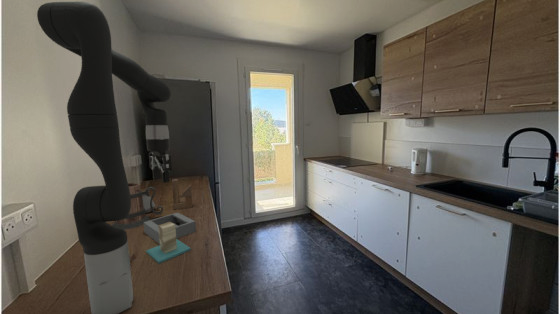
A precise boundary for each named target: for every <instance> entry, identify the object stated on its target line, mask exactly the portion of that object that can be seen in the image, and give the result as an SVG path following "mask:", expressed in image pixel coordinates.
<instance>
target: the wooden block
mask: <svg viewBox="0 0 560 314" xmlns="http://www.w3.org/2000/svg"><path fill="white" fill-rule="evenodd" d="M171 185H172V186H171V188H172V189H171V190H172V202H173V203H172V209H173V210H175V211H176V210H182V209H191V208H193V194H192V184H191V183H190V184H189V185H188V186H187V187H186V188H185V189H184V190H183V191H182V192H181V194H180V186H179V178H177V179H176V178H174V179H172V180H171ZM180 198H185V201H180Z"/></svg>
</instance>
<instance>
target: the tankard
mask: <svg viewBox="0 0 560 314" xmlns="http://www.w3.org/2000/svg"><path fill="white" fill-rule="evenodd" d="M128 186H129V191H130V197H131V208H130V212H129V214H128V216H127V217H126V218H125V219H123V220H118V221H113V224H112V225H111V226H114V227H117V228H121V229H123V230H125V231H126V230H131V229H135V228H138V227H142V226H144V223H143V222H146V221H150V220H151V218H150V217H149V216H148V215H146V213H145V208H144V206H143V199H142V194H143V193H145V194H146V195H147V196H150V197H151V200H150V207H151V210H152V211H151V212H152V214H155V215H161V214H162V213H163V211H164V207H163V206H162V205H158V206H157V207H156V210H157V211H156V210H155V208H154V209H153V207H152V200H153V199H154V197H155V195H156V188H155V187H153V186H148V187H147V189H146V190H145V191H144V192H142V191H141V190H142V189H141V185H140V183H134V182H132V183H128ZM148 190H152V191H153V193H152V195H150V194H149V193H150V191H148Z"/></svg>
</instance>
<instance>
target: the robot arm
mask: <svg viewBox="0 0 560 314" xmlns="http://www.w3.org/2000/svg"><path fill="white" fill-rule="evenodd" d="M36 15H37V16H36V17H37V21H38V24H39V26H40V28H41V30H42V32H44V34H45V35H46V36H47V37H48V38H49V39H50V40H51V41H52V42H54V43H55V44H57V45H58V46H60V47H62V48H64V50H65V49H66V51H67V50H68V51H69V52H72V53H74V54H75V55H78V56H79V57H81V69H80V73H79V76H78V78H77V80H76V82H75V85H74V87H73V89H72V91H71V93H70V95H69V97H68V100H67V101H68V102H67V104H66V112H67V113H66V114H67V118H68V124H69V130H70V134H71V137H72V138H73V140H74V141H75V143H76V144H77V145H78V146H79V147H80V149H81V150H83V152H85V154H87V156H88V157H89V158H90V159H91V160H92V161H93V162H94V164H96V166H97V168H98V169H99V170H100V172H101V175H102V177H103V180H104V185H91V186H84V187H82V188H80V189H79V190H77V192H76V194H75V196H74V197H73V198H74V199H73V201H72V202H73V203H72V211H73V212H72V213H73V217H74V222H75V227H76V231H77V237H78V242H79V244H80V245H81V246H82V250H83V251H82V252H83V256H84V265H85V266H84V267H85V273H86V282H87V289H88V297H89V298H88V299H89V306H90V313H91V314H121V313H122V312H124V311H126V310H128V309H130V308H131V307H132V306H133V305H132V303H133V301H134V292H133V291H134V288H133V279H132V271H131V263H130V262H131V261H130V253H129V240H128V234H127V231H126V229H125V230H123V229H121V228H117V227H114V226H112V225H111V224H109V223H108V222H115V221H118V220H123V219H125V218H126V217H127V216H128V214H129V212H130V208H131V197H130V191H129V186H128V179H127V173H126V170H125V166H124V165H125V164H124V161H123V153H122V148H121V147H122V145H121V139H120V138H121V137H120V128H119V126H120V125H119V119H118V112H117V108H116V107H117V106H116V100H115V91H114V81H113V76H115V77H116V78H117V79H119V80H120V81H122V82H123V83H124V84H126V85H127V86H128V87H129V88H131V89H133V90H135V91H136V93H137V97H138V100H139V102H140V104H141V105H140V106H141V107H142V110H143V114H144V119H145V140H146V149H147V151H148V152H149V153H148V160H149V163H148V164H149V168H150V169H151V170H152V178H153V180H160V179H162V180H161V181H162V183H163V184H165V183H170V172H172V171H173V167H172V166H173V165H172V157H171V156H172V155H171V153H168V154H167V151H170V150H171V144H170V131H169V127H168V115H167V112H166V110H165V109H163V108H162V109H161V108H157V107H156V106H155V105H154V103H166V102H167V101H169V100H170V98H171V94H172V93H171V89H170V87H169V86H168V84H167V83H166V82H164V81H163V80H161V79H159V78H158V77H156V76H155V75H153V74H150V73H148V71H146V70H145V69H144V68H143V67H142V66H141V65H140V64H139V63H137V62H136V61H135V60H134V59H131V58H130V57H127V56H126V55H125V54H122V53H120V52H118V51H116V50H113V49H112V34H111V29H110V25H109V22H108V20H107V18H106V16H105V14H104V13H103V11H102V10H101V8H99V7H98V6H97V5H96V4H93V3H91V2H89V1H88V2H87V1H54V2H45V3H43V4H41V5H40V6H39V7H38V9H37V13H36ZM160 170H161V171H160ZM160 172H161V173H160ZM161 177H162V178H161Z"/></svg>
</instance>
